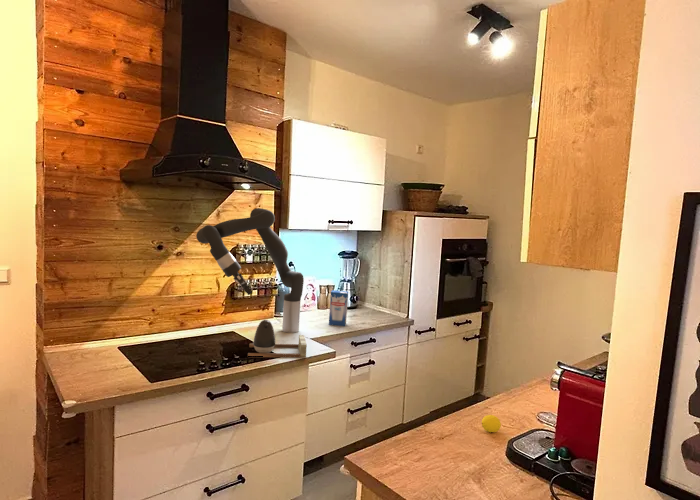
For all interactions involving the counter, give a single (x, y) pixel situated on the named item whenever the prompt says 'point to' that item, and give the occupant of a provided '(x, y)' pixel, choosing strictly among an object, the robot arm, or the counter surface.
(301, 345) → the track
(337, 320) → the milk carton
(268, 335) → the dark grey rounded cone
